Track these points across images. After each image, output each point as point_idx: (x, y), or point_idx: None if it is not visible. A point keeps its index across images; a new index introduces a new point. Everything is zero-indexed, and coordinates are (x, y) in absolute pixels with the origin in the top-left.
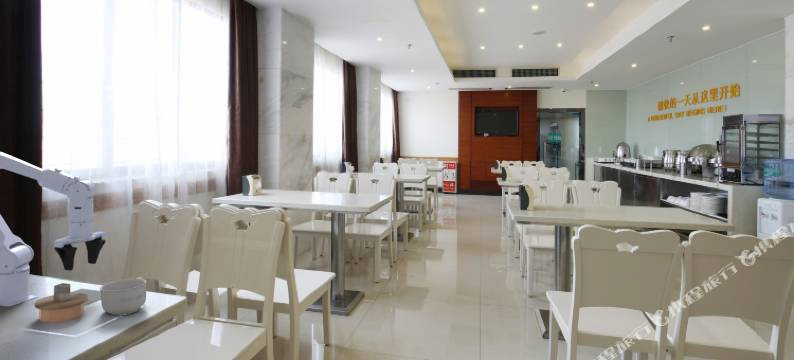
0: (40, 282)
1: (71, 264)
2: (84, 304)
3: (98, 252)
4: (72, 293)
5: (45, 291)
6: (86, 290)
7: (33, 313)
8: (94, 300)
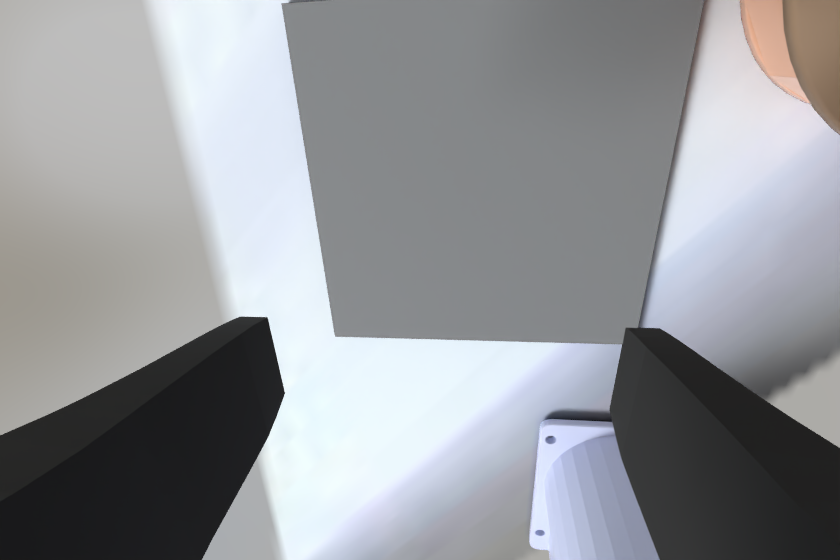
0: (344, 556)
1: (719, 375)
2: (617, 12)
3: (89, 410)
4: (826, 11)
5: (435, 461)
6: (347, 282)
7: (818, 231)
8: (503, 26)
